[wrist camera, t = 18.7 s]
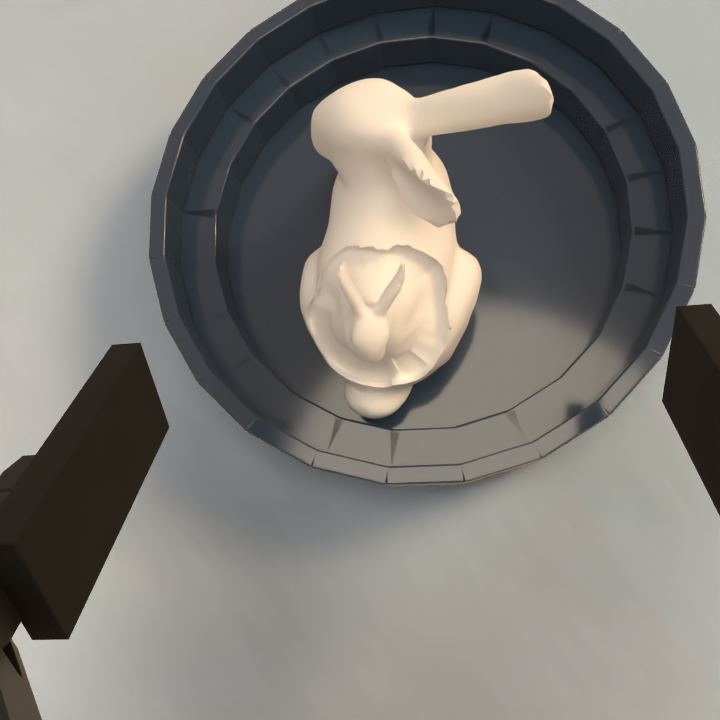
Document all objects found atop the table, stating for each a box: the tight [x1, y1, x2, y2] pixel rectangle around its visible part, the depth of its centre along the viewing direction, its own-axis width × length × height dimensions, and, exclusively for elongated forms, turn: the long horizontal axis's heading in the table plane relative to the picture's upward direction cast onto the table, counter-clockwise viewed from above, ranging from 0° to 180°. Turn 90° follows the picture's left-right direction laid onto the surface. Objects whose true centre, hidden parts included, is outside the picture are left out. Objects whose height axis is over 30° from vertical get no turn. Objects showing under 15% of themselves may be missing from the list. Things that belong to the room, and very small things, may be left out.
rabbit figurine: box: [300, 69, 554, 419], centre depth 22 cm, size 12×8×10 cm, turn 173°
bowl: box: [149, 0, 706, 487], centre depth 26 cm, size 19×19×4 cm
